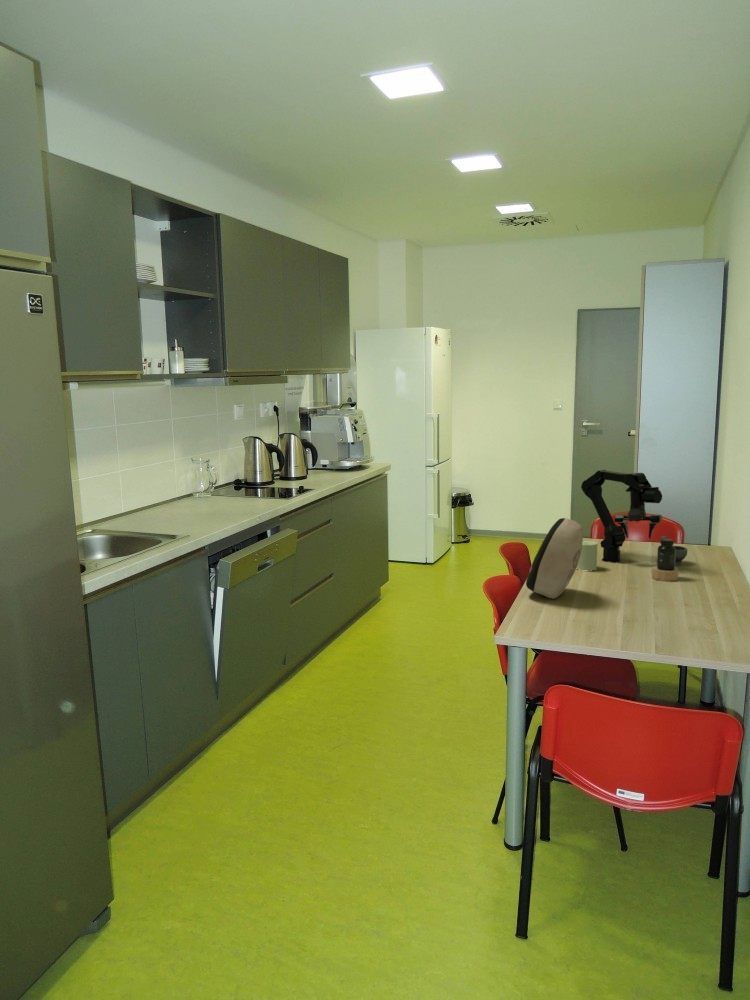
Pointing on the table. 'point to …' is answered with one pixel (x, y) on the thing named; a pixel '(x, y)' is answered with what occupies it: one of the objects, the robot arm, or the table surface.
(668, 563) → the supplement bottle
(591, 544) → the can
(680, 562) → the mortar and pestle
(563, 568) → the grey rounded piece
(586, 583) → the table surface
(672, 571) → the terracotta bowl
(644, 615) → the table surface
